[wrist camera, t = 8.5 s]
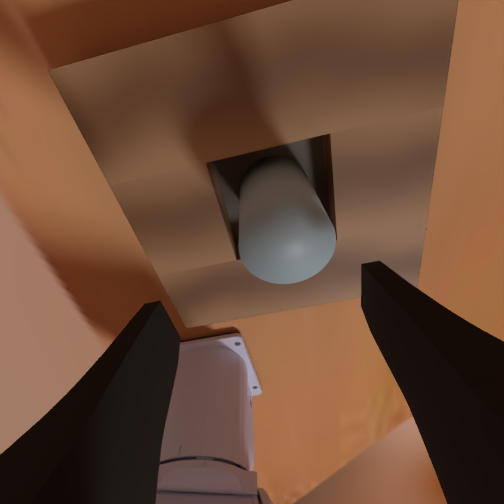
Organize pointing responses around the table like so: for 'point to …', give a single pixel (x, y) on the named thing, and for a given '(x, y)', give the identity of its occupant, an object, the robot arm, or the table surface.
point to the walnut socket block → (272, 140)
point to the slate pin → (282, 223)
